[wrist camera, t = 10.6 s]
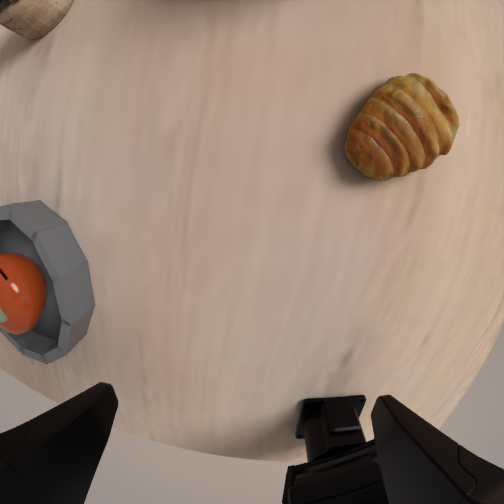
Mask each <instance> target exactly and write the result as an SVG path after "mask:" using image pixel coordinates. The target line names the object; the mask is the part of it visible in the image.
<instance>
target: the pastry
mask: <svg viewBox="0 0 504 504" xmlns="http://www.w3.org/2000/svg"><path fill="white" fill-rule="evenodd" d="M458 127H459V118H458V115H457V112H456V109H455V107H454V106H453V104H452V102H451V100H450V98H449V97H448V95H447V94H446V93H445V92H444V91H443V90H441V89H440V88H439V87H438V85H437V84H436V83H435V82H433V81H432V80H430V79H428V78H427V77H424V76H421V75H419V74H415V73H410V74H408V75H406V76H397V77H392V78H390V79H389V80H388V81H387V82H386V83H385V84H384V85H382V86H381V87H380V88H379V89H377V90H375V91H374V92H373V94H372V95H371V97H370V98H369V100H368V101H367V102H366V104H365V105H364V107H363V108H362V110H361V111H360V112H359V114H358V115H357V116H356V117H355V119H354V120H353V122H352V124H351V125H350V127H349V129H348V133H347V137H346V140H345V146H344V147H345V154H346V156H347V157H348V159H349V161H350V162H351V164H352V165H353V166H354V167H355V168H356V169H358V170H359V171H360V172H361V173H362V174H363V175H364V176H367V177H370V178H373V179H376V180H379V181H383V180H386V179H390V178H392V177H401V176H405V175H407V174H409V173H410V172H414V171H417V170H419V169H425V168H427V167H428V166H430V165H431V164H432V163H433V162H434V160H435V159H436V158H437V157H438V156H439V155H446V154H447V153H448V152H449V151H450V149H451V146H452V143H453V141H454V138H455V136H456V133H457V129H458Z"/></svg>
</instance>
